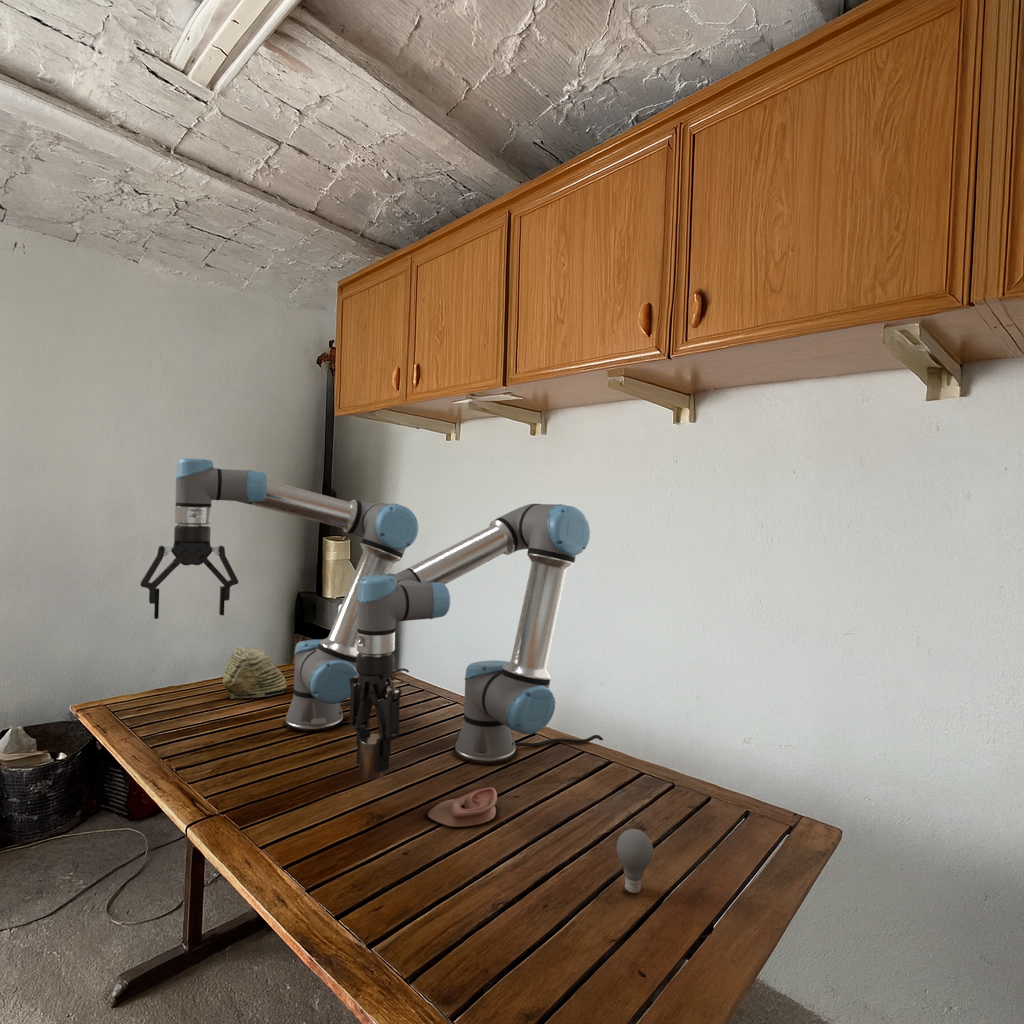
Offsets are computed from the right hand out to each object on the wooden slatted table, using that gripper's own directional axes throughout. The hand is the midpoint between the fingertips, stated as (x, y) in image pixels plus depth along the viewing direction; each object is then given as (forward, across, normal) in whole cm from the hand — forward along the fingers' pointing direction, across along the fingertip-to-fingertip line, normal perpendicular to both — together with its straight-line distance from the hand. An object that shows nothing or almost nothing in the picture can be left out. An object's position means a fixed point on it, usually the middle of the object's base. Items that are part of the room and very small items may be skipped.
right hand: (372, 765), depth 129 cm
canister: (+2, 0, 0) cm, 2 cm away
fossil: (+9, -84, +22) cm, 87 cm away
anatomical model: (+9, +14, +12) cm, 21 cm away
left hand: (-25, -50, -14) cm, 57 cm away
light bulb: (+10, +53, +12) cm, 55 cm away
